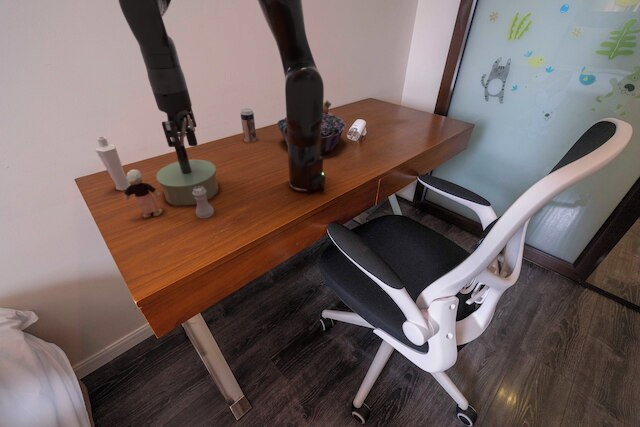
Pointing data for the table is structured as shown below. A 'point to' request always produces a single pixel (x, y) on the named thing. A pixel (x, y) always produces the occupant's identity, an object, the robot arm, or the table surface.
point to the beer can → (248, 125)
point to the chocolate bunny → (326, 107)
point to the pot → (190, 192)
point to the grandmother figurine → (142, 194)
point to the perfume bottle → (112, 163)
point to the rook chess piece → (202, 203)
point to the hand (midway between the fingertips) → (188, 152)
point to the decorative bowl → (322, 131)
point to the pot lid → (186, 173)
